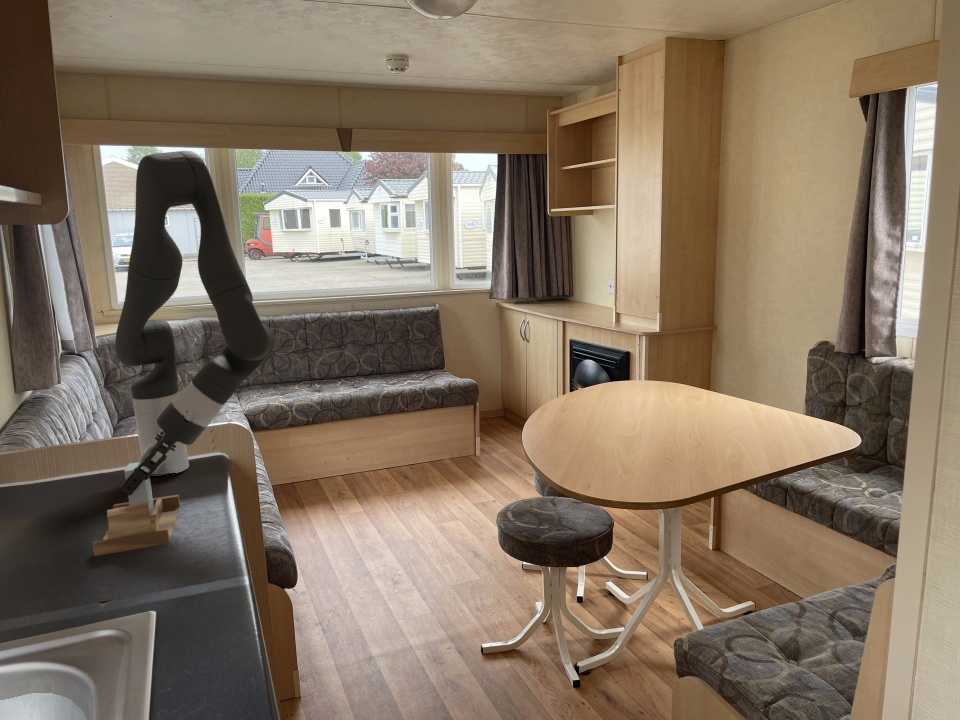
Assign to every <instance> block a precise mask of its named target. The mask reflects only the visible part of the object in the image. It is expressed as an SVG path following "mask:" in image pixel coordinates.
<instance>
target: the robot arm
mask: <svg viewBox="0 0 960 720" xmlns="http://www.w3.org/2000/svg"><path fill="white" fill-rule="evenodd" d="M138 163H139V164H138V166H137V170H136V177H135V178H136V180H135V213H134V214H135V217H134V229H133V238H132V245H131V251H130V255H129V261H128V269H127V279H126V286H125V287H126V289H125V296H124V301H123V306H122V310H121V313H120V317H119V321H118V325H117V329H116V333H115V345H114V346H115V352H116V356H117V358H118V360H119V362H120V363H122V365H124V366H127V367H139V366H146V365H152V364H153V365H154V367H153V369H152V370H151V371H150V372H149V373H148V374H146V375H145V376H144V377H142V378H140V379H139V380H136V381H135V382H134V383H132V385H131V387H130V392H131V397H132V405H133V412H134V416H135V417H134V418H135V422H136V423H135V425H136V430H137V436H138V437H137V439H138V443H139V450H140V458H138V462H140V463H139V465H138V466H137V467H136V468H134V469H133V470H134V471H133V473H132V474H131V475H130V476H129V477H128V478H127V480H126V479H125V478H124V482H123V483H122V484H121V485H120V487H119V491H120V492H122V494H125V495H126V496H127V497H128V496H130V495H131V494H132V493H133V492H134V491H135V490H136V489H137V487H138V486H139V485H140V484H141V483H142V481H143V480H145V481H146V480H147V479H149V477H150V475H151V474H167V473H176V474H178V473H182V472H183V471H185V470H187V469H189V467H190V464H189V456H188V448H187V446H191V445H193V444H194V443H195V442H196V441H197V440H198V438H199V437H200V436H201V435H202V434H203V433H204V431H205V430H206V429H207V428H208V427H209V425H210V424H211V423H212V422H213V420H214V419H215V418H216V417H217V416H218V415H219V413H220V411H221V410H222V408H223V407H224V405H225V404H226V403H227V402H228V400H230V398H231V397H232V396H233V395H234V393H236V391H237V390H238V389H239V387H240V386H241V384H242V383H243V382H244V381H245V380H246V379H247V378H248V377H250V375H252V374H253V373H254V371H256V370H257V369H258V368H259V367H260V366H261V365H262V364H263V363H264V362H265V361H266V360H267V358H268V357H269V355H271V353H272V352H273V350H274V347H275V343H276V342H275V335H274V333H273V331H272V330H271V328H270V327H269V326H268V325H267V324H264V323H262V320H261V319H260V317H259V316H260V315H259V313H258V312H257V310H256V307H255V305H254V303H253V300H254V299H253V293H252V291H251V288H250V286H249V283H248V281H247V280H246V277H245V275H244V273H243V270H242V269H241V266H240V264H239V262H238V259H237V257H236V254H235V252H234V250H233V247H232V243H231V241H230V238H229V237H230V236H229V234H228V230H227V227H226V223H225V219H224V215H223V212H222V209H221V205H220V202H219V199H218V198H219V197H218V195H217V191H216V188H215V185H214V181H213V179H212V175H211V173H210V171H209V168H208V166H207V164H206V163H205V161H204V159H203V158H202V157H201V156H200V155H199V154H198V153H196V152H194V151H192V150H179V151H178V150H177V151H168V152H167V151H166V152H158V153H151V154H148V155H144V156H143V157H142V159H140V161H139V162H138ZM186 205H192V207H193V208H194V210H195V213H196V214H197V217H198V221H199V226H200V239H199V246H198V253H197V254H198V255H197V268H198V269H197V270H198V274H199V278H200V281H201V283H202V285H203V288H204V290H205V292H206V295H207V296H208V298H209V300H210V303H211V305H212V306H213V308H214V310H215V313H216V314H217V315H216V316H217V320H218V323H219V327H220V329H221V332H222V336H223V338H224V341H225V343H226V346H225V347H224V348H223V349H222V351H220V353H219V354H217V356H216V357H214V358H211V359H209V360H208V361H207V363H205V364H204V365H203V366H202V368H201V369H200V370H199V371H198V372H197V373H196V375H194V376H193V377H192V379H191V380H190V381H189V382H188V383H187V384H186V385H185V386H184V387H183V388H181V390H180V391H179V386H178V385H179V378H178V377H179V376H178V368H177V366H178V365H177V357H176V356H177V355H176V345H175V337H174V332H173V330H172V326H171V325H170V324H169V322H168V321H167V320H165V319H162V318H161V319H159V318H158V319H151V320H149V319H150V318H151V317H152V316H153V315H154V314H155V313H156V312H157V311H158V310H159V309H160V308H162V306H163V305H165V304H166V303H167V302H168V301H169V299H171V297H172V296H173V295H174V294H175V292H176V290H177V289H178V286H179V282H180V279H181V273H182V269H183V255H182V253H181V251H180V249H179V247H178V245H177V243H176V241H174V239H173V238H172V236H171V235H170V234H169V231H168V230H167V229H166V216H167V213H168V210H170V209H171V208H174V207H180V206H186ZM143 466H145V467H146V468H148V470H149V471H148V472H146V471H144V470H143V469H141V468H142V467H143Z"/></svg>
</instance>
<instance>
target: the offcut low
mask: <svg viewBox="0 0 960 720" xmlns="http://www.w3.org/2000/svg"><path fill="white" fill-rule="evenodd" d="M150 522H151V524H150V525H145V526H140V527H136V528H131V529H127V530H122V531H117V532H113V533H110V531H109V530H108V529H107V530H108V531H106V532H107V537H108V539H112V538H118V537H125V536H131V535H137V534H143V533H149V532H155V531H159V528H158V522H157V517H156V518H150Z"/></svg>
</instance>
